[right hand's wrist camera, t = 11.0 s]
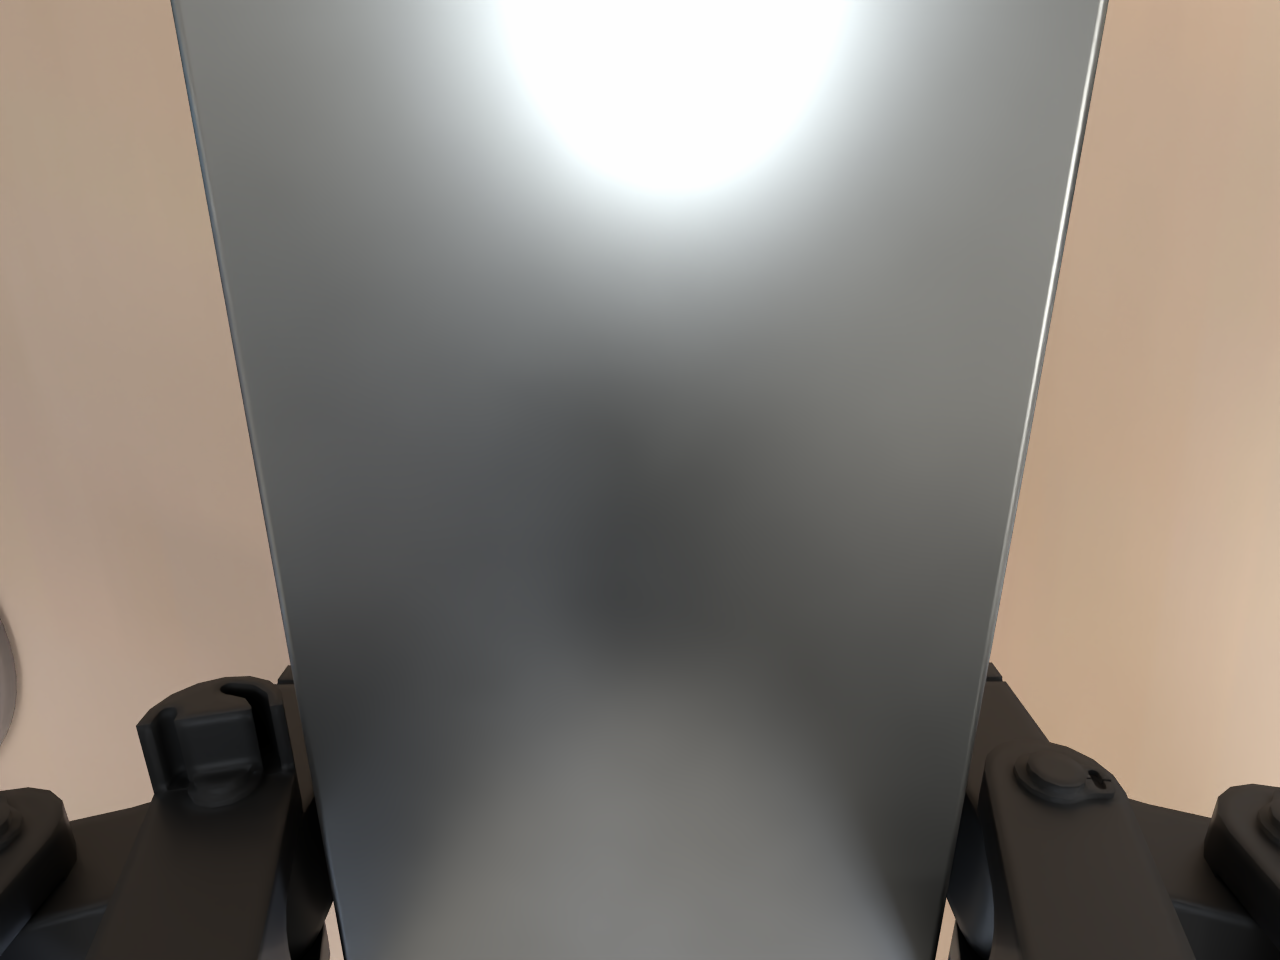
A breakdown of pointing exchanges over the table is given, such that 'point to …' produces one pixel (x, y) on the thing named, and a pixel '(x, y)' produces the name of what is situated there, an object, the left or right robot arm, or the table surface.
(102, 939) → the right robot arm
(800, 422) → the bar
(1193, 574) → the table surface
